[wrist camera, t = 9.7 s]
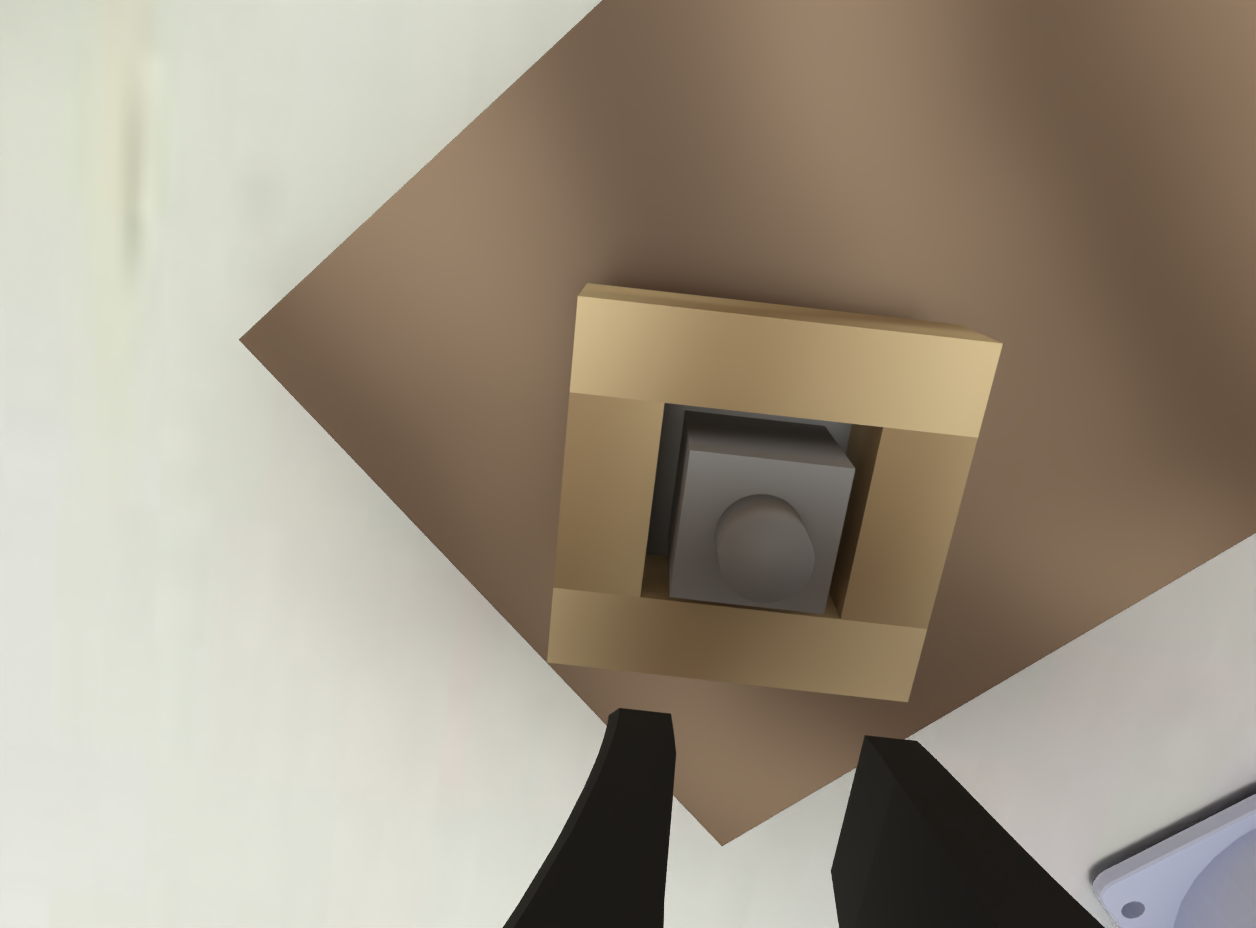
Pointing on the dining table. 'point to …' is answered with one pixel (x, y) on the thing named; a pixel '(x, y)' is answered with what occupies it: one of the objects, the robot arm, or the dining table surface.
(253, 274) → the dining table surface
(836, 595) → the square wooden ring
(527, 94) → the board
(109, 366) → the dining table surface
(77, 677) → the dining table surface
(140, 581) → the dining table surface
